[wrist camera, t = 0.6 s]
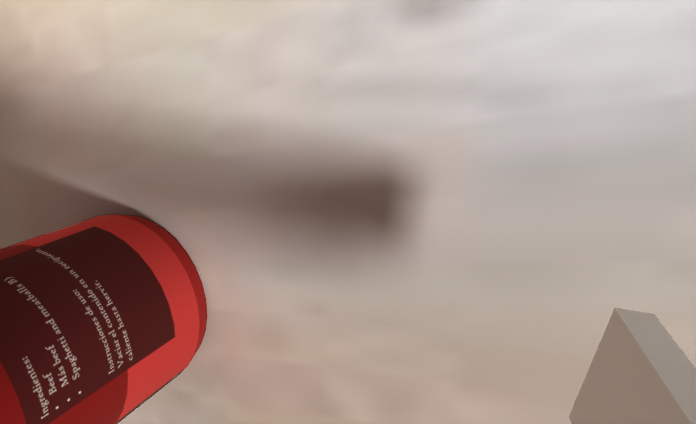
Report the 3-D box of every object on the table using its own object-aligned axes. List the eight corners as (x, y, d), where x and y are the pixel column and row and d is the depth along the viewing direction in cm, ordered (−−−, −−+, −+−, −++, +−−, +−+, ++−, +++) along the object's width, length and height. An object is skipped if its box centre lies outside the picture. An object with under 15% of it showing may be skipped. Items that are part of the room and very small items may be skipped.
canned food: (76, 336, 28) (-206, 494, 18) (79, 184, 25) (-256, 277, 15) (203, 401, 25) (-44, 623, 16) (223, 241, 22) (-67, 394, 13)
